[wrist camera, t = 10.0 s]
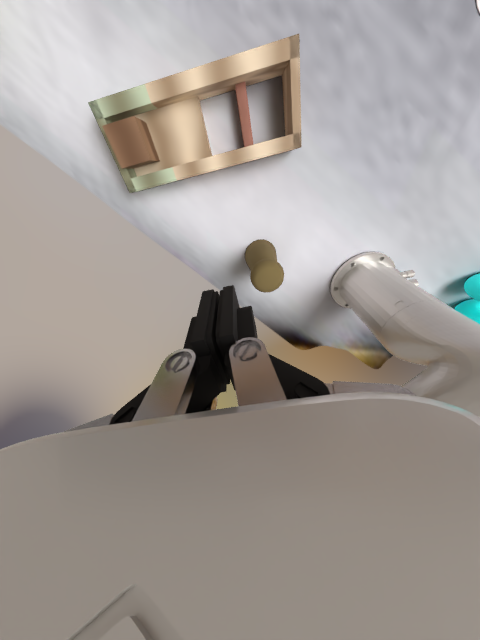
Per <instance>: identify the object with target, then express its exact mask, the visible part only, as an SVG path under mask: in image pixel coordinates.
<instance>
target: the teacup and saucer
mask: <svg viewBox="0 0 480 640" xmlns="http://www.w3.org/2000/svg"><path fill="white" fill-rule="evenodd" d="M476 4H477V8H478V11H479V13H480V0H476Z"/></svg>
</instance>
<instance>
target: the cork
mask: <svg viewBox="0 0 480 640" xmlns="http://www.w3.org/2000/svg"><path fill="white" fill-rule="evenodd" d="M245 260H246V263H247V265H248V267H249V268H250V270H251V276H250V278H251V282H252V284H253V286H254V287H255V288H256V289H257V290H259V291H261V292H271V291H274V290H276V289H277V288H278V287H279V286H280V285H281V284H282V282H283V278H284V272H283V268H282V267H281V265H280V264H279V263H278V262H277V257H276V251H275V247H274V246H273V244H272V243H270V242H269V241H267V240H256V241H254V242H252V243H251V244H250V245H249V246H248V248H247V249H246V252H245Z"/></svg>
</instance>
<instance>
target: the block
mask: <svg viewBox="0 0 480 640" xmlns="http://www.w3.org/2000/svg"><path fill="white" fill-rule="evenodd" d="M102 127H103V129H104V131H105V134H106V136H107V138H108V140H109V142H110V145H111V147H112V149H113V151H114V153H115V156H116V158H117V160H118V162H119V164H120V167H121V168H127V169H134V168H138V167H141V166H145V165H148V164H152V163H155V162H159V161H160V160H159V157H158V154H157V151H156V149H155V146H154V143H153V140H152V137H151V134H150V132H149V129H148V126H147V123H146V122H144V121H143V120H141V119H139V118H137V117H135V116H132V117H129V118H125V119H122V120H119V121H116V122H113V123H109V124H106V125H103V126H102Z"/></svg>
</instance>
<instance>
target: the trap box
mask: <svg viewBox="0 0 480 640" xmlns="http://www.w3.org/2000/svg"><path fill="white" fill-rule="evenodd" d="M281 75H282V86H283V104H284V122H285V136H283V137H280V138H276V139H272V140H269V141H265V142H261V143H258V144H254V145H253V138H252V130H251V122H250V115H249V107H248V99H247V92H246V86H249V85H252V84H255V83H259V82H262V81H265V80H268V79H272V78H275V77H278V76H281ZM233 90H235V91H236V98H237V105H238V111H239V118H240V124H241V131H242V138H243V144H244V147H243V148H240V149H236V150H233V151H229V152H225V153H222V154H218V155H214V156H212V153H211V149H210V144H209V140H208V136H207V131H206V127H205V123H204V118H203V114H202V110H201V105H200V100H203V99H207V98H210V97H213V96H216V95H220V94H223V93H226V92H229V91H233ZM88 103H89V106H90V108H91V110H92V112H93V114H94V116H95V119H96V121H97V123H98V125H99V127H100V129H101V132H102V134H103V136H104V138H105V140H106V142H107V145H108V147H109V149H110V151H111V153H112V155H113V158H114V160H115V162H116V164H117V166H118V168H119V171H120V173H121V175H122V177H123V179H124V181H125V184H126V186H127V188H128V190H129V192H130V193H133V192H137V191H141V190H145V189H149V188H153V187H156V186H160V185H164V184H168V183H171V182H175V181H179V180H183V179H186V178H190V177H194V176H197V175H201V174H205V173H209V172H212V171H216V170H220V169H224V168H227V167H231V166H235V165H238V164H242V163H246V162H250V161H253V160H257V159H261V158H265V157H268V156H272V155H276V154H280V153H283V152H287V151H291V150H294V149H297V148H300V147H301V104H300V54H299V34H297V35H294V36H291V37H287V38H284V39H281V40H278V41H275V42H272V43H269V44H266V45H263V46H260V47H257V48H254V49H251V50H248V51H244V52H241V53H238V54H235V55H232V56H229V57H226V58H223V59H220V60H217V61H214V62H211V63H208V64H205V65H202V66H198V67H195V68H192V69H189V70H186V71H183V72H180V73H177V74H174V75H171V76H168V77H165V78H162V79H159V80H156V81H152V82H149V83H146V84H143V85H140V86H137V87H134V88H131V89H128V90H125V91H122V92H119V93H116V94H113V95H110V96H106V97H103V98H100V99H97V100H94V101H91V102H88ZM132 116H135V117H137V118H139V119H141V120H143V121H144V122H146V123H147V126H148V129H149V132H150V134H151V137H152V140H153V143H154V146H155V149H156V151H157V154H158V157H159V160H160V161H159V162H155V163H152V164H148V165H145V166H141V167H138V168H134V169H127V168H121V167H120V164H119V162H118V160H117V158H116V156H115V153H114V151H113V149H112V147H111V145H110V142H109V140H108V138H107V136H106V134H105V131H104V129H103V127H102V126H103V125H106V124H109V123H113V122H116V121H119V120H122V119H125V118H129V117H132Z"/></svg>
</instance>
